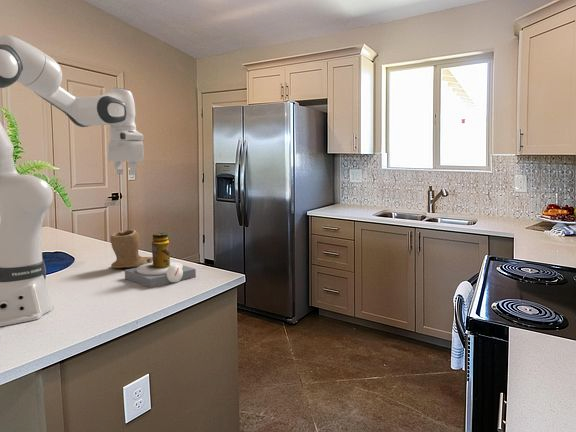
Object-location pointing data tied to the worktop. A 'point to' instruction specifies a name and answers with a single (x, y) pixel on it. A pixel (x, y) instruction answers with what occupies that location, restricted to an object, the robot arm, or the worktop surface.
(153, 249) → the condiment
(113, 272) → the worktop surface
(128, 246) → the stone cup
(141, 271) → the scale
